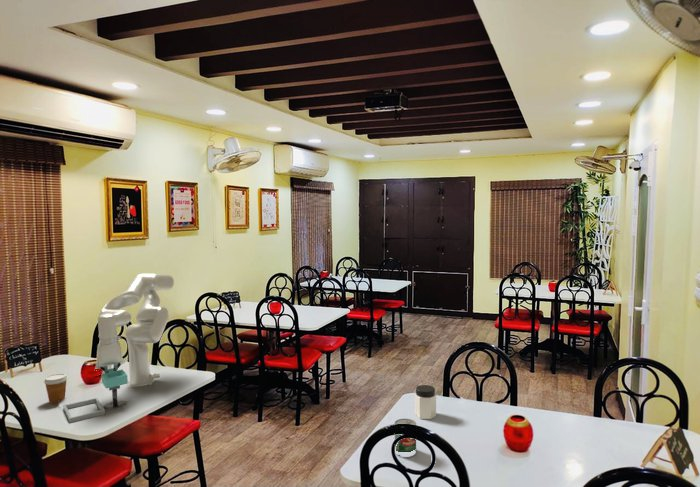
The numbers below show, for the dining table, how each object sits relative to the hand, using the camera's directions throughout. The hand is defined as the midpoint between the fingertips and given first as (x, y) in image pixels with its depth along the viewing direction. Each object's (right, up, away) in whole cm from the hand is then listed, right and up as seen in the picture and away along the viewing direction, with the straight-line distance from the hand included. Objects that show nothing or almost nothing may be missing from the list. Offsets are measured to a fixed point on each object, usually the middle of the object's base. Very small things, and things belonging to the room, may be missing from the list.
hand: (111, 378), depth 231 cm
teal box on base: (+3, 0, -4) cm, 5 cm away
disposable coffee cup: (-27, -12, +3) cm, 30 cm away
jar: (+144, -11, -19) cm, 146 cm away
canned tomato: (+132, -14, -50) cm, 142 cm away
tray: (-6, -13, -12) cm, 18 cm away
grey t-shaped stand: (+5, -12, -6) cm, 14 cm away
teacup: (-24, -9, +40) cm, 48 cm away
